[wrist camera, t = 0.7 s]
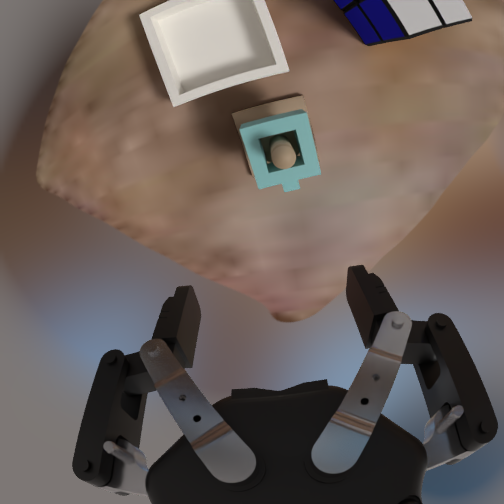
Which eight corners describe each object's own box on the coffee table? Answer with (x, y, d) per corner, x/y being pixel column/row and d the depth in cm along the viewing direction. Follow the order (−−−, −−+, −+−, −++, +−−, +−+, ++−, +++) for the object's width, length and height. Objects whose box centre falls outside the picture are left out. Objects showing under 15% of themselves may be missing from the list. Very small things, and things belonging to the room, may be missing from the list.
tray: (149, 19, 20) (139, 14, 17) (253, -17, 17) (253, -27, 15) (181, 104, 26) (173, 107, 24) (286, 72, 24) (289, 71, 21)
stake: (232, 113, 27) (221, 126, 20) (302, 95, 25) (320, 101, 18) (253, 175, 31) (251, 210, 24) (318, 159, 30) (338, 190, 23)
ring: (241, 124, 24) (239, 129, 22) (301, 108, 23) (306, 112, 21) (262, 189, 28) (262, 202, 26) (317, 176, 27) (323, 187, 25)
